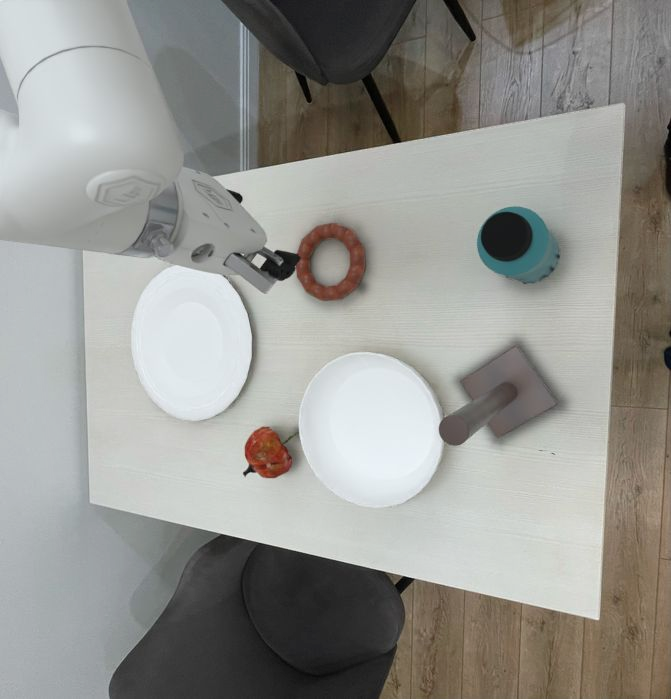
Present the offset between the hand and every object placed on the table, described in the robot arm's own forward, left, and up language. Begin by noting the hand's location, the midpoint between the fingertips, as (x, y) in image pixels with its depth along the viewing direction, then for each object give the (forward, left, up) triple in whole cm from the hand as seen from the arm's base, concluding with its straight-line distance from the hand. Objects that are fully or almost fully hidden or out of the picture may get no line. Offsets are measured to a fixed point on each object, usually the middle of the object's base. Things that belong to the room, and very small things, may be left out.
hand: (262, 236), depth 56 cm
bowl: (+8, +22, -20) cm, 30 cm away
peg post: (-8, +27, -19) cm, 34 cm away
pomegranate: (+24, +17, -20) cm, 35 cm away
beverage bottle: (-19, +15, -20) cm, 31 cm away
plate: (+29, -5, -20) cm, 35 cm away
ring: (+2, 0, -18) cm, 18 cm away
